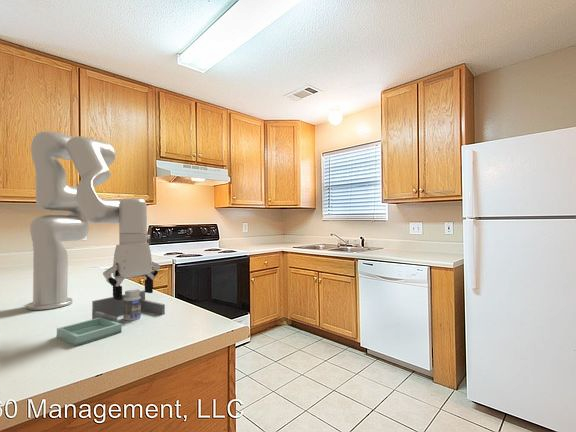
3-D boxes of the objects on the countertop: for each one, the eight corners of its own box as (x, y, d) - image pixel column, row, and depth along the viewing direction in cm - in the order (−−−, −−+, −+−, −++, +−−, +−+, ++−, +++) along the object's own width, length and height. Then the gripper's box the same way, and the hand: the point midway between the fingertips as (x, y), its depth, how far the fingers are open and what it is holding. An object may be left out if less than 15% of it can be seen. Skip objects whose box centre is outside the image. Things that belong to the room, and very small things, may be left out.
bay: (92, 321, 89) (92, 301, 89) (143, 308, 103) (143, 290, 103) (113, 329, 83) (113, 306, 83) (164, 313, 97) (164, 294, 97)
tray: (56, 337, 77) (56, 328, 77) (100, 325, 86) (100, 317, 86) (76, 346, 72) (76, 336, 72) (121, 332, 81) (121, 323, 81)
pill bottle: (133, 321, 89) (133, 292, 90) (119, 320, 90) (119, 291, 91) (144, 316, 94) (144, 289, 94) (130, 315, 95) (131, 288, 95)
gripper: (151, 237, 102) (152, 289, 101) (96, 241, 87) (97, 301, 87) (165, 237, 98) (166, 291, 97) (110, 241, 83) (111, 304, 83)
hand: (134, 295), depth 92 cm, fingers open, 9 cm apart
